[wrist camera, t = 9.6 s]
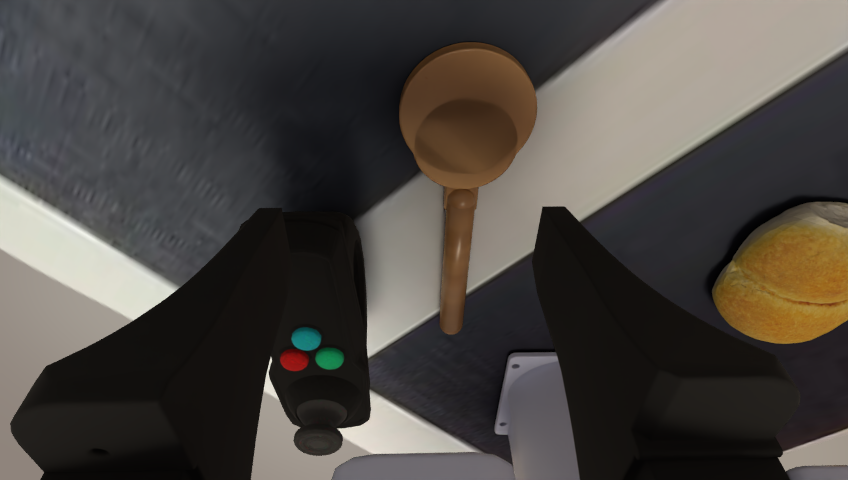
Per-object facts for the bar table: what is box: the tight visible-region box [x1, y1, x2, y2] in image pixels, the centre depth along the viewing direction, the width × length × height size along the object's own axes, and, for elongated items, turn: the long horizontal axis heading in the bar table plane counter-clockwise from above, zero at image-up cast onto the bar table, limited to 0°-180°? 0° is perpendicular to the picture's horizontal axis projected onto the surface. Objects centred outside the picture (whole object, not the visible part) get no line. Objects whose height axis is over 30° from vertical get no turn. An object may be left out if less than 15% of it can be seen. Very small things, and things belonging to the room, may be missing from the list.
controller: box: [239, 211, 371, 456], centre depth 24 cm, size 4×12×10 cm, turn 2°
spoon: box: [399, 42, 537, 334], centre depth 27 cm, size 17×6×1 cm, turn 179°
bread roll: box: [712, 202, 848, 344], centre depth 29 cm, size 8×9×4 cm
